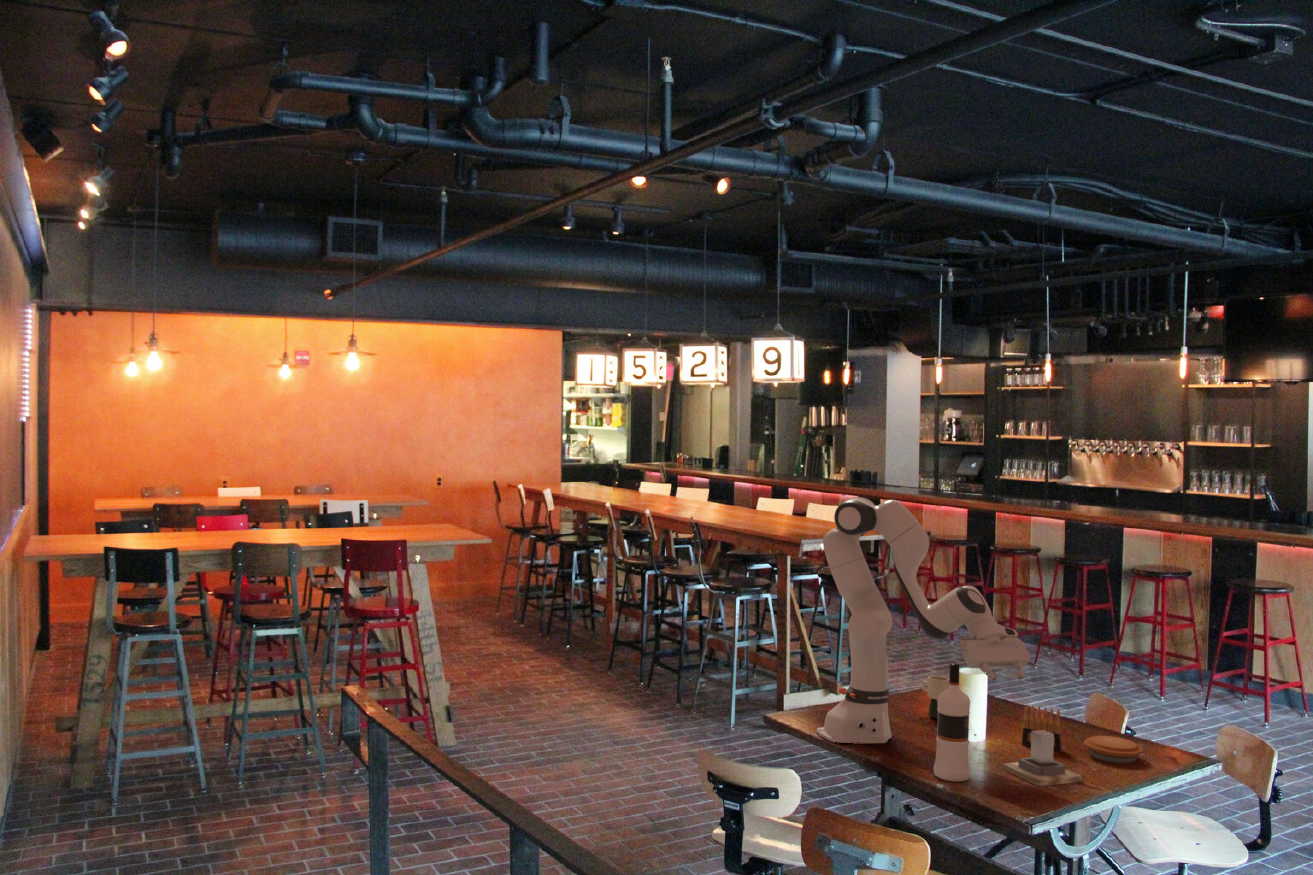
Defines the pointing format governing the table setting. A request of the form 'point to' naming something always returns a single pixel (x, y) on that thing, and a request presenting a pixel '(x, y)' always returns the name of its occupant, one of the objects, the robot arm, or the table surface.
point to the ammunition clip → (1041, 726)
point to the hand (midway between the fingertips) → (1007, 678)
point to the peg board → (1042, 773)
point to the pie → (1113, 749)
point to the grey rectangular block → (1042, 748)
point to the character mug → (935, 691)
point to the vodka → (952, 731)
